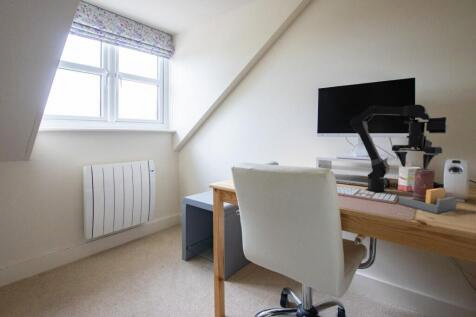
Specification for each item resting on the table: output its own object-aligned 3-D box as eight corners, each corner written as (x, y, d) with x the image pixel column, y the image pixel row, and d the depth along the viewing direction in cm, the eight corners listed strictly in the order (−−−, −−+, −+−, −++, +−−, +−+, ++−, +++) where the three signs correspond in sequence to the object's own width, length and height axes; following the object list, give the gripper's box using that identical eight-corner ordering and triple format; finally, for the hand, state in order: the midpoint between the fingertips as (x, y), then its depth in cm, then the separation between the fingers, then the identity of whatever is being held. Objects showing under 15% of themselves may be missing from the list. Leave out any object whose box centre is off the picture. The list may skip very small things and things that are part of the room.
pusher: (425, 208, 96) (426, 189, 96) (439, 205, 100) (440, 187, 99) (432, 209, 94) (433, 191, 93) (446, 206, 98) (448, 188, 97)
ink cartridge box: (407, 192, 124) (409, 162, 123) (397, 189, 129) (399, 161, 127) (419, 190, 127) (421, 161, 126) (409, 188, 132) (411, 160, 130)
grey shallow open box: (398, 204, 104) (399, 192, 103) (417, 200, 109) (418, 189, 108) (436, 214, 91) (438, 200, 91) (456, 210, 96) (457, 197, 96)
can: (433, 206, 98) (436, 171, 97) (413, 204, 102) (415, 169, 100) (431, 203, 103) (434, 168, 102) (412, 200, 107) (415, 167, 105)
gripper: (451, 133, 108) (448, 169, 110) (407, 133, 125) (405, 164, 127) (435, 133, 104) (432, 171, 106) (391, 133, 121) (389, 165, 123)
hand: (414, 168), depth 115 cm, fingers open, 9 cm apart
